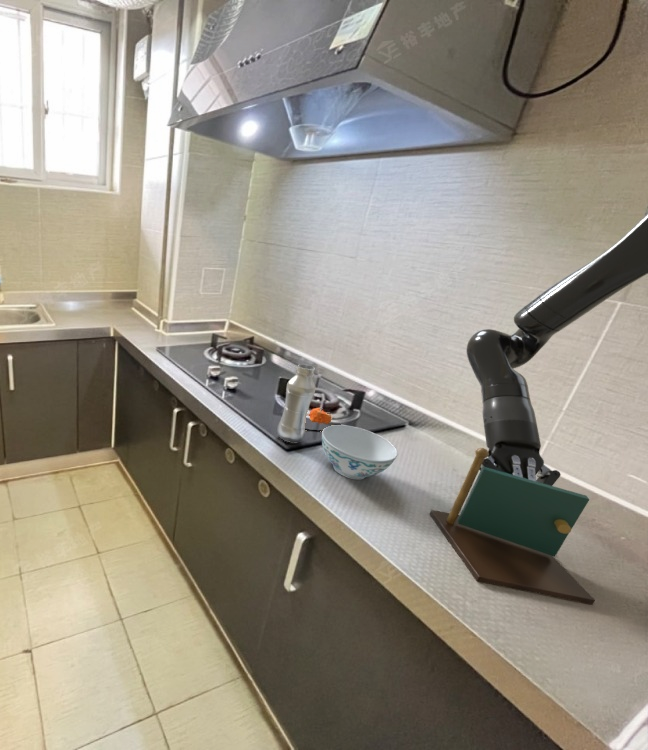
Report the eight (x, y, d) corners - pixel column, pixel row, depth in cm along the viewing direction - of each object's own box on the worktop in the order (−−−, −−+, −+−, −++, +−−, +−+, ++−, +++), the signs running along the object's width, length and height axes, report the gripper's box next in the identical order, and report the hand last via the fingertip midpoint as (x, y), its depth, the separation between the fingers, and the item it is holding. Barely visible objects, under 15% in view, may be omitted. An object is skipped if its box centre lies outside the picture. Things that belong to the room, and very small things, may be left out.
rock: (329, 413, 117) (333, 400, 115) (348, 434, 105) (353, 420, 104) (290, 410, 116) (293, 397, 115) (305, 430, 105) (308, 416, 103)
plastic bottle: (302, 449, 96) (322, 373, 88) (274, 442, 98) (291, 368, 90) (302, 437, 101) (321, 365, 94) (275, 431, 103) (291, 360, 96)
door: (552, 552, 67) (586, 495, 63) (558, 563, 65) (594, 505, 60) (457, 520, 73) (482, 466, 69) (459, 529, 71) (485, 473, 66)
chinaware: (309, 447, 97) (316, 420, 94) (373, 458, 94) (383, 431, 91) (321, 484, 83) (330, 453, 80) (397, 498, 80) (409, 466, 78)
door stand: (520, 530, 74) (562, 453, 68) (592, 605, 59) (654, 515, 53) (429, 513, 76) (461, 438, 70) (476, 581, 62) (523, 493, 56)
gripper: (484, 412, 72) (497, 508, 66) (566, 424, 70) (588, 525, 64) (459, 424, 79) (468, 512, 73) (532, 435, 77) (549, 527, 71)
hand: (524, 518), depth 68 cm, fingers closed
